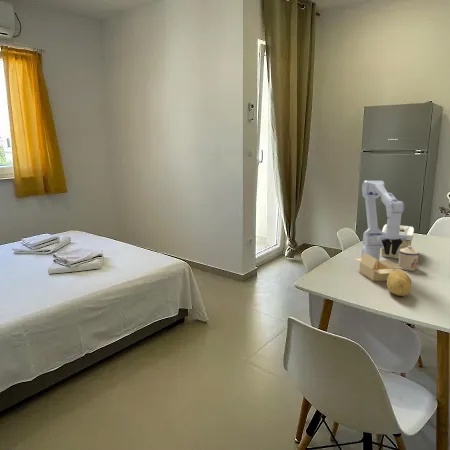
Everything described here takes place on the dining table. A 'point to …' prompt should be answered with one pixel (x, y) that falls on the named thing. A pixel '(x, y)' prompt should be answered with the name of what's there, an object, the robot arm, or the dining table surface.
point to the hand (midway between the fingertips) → (390, 254)
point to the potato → (399, 283)
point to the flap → (368, 260)
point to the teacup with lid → (408, 258)
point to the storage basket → (405, 243)
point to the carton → (378, 270)
